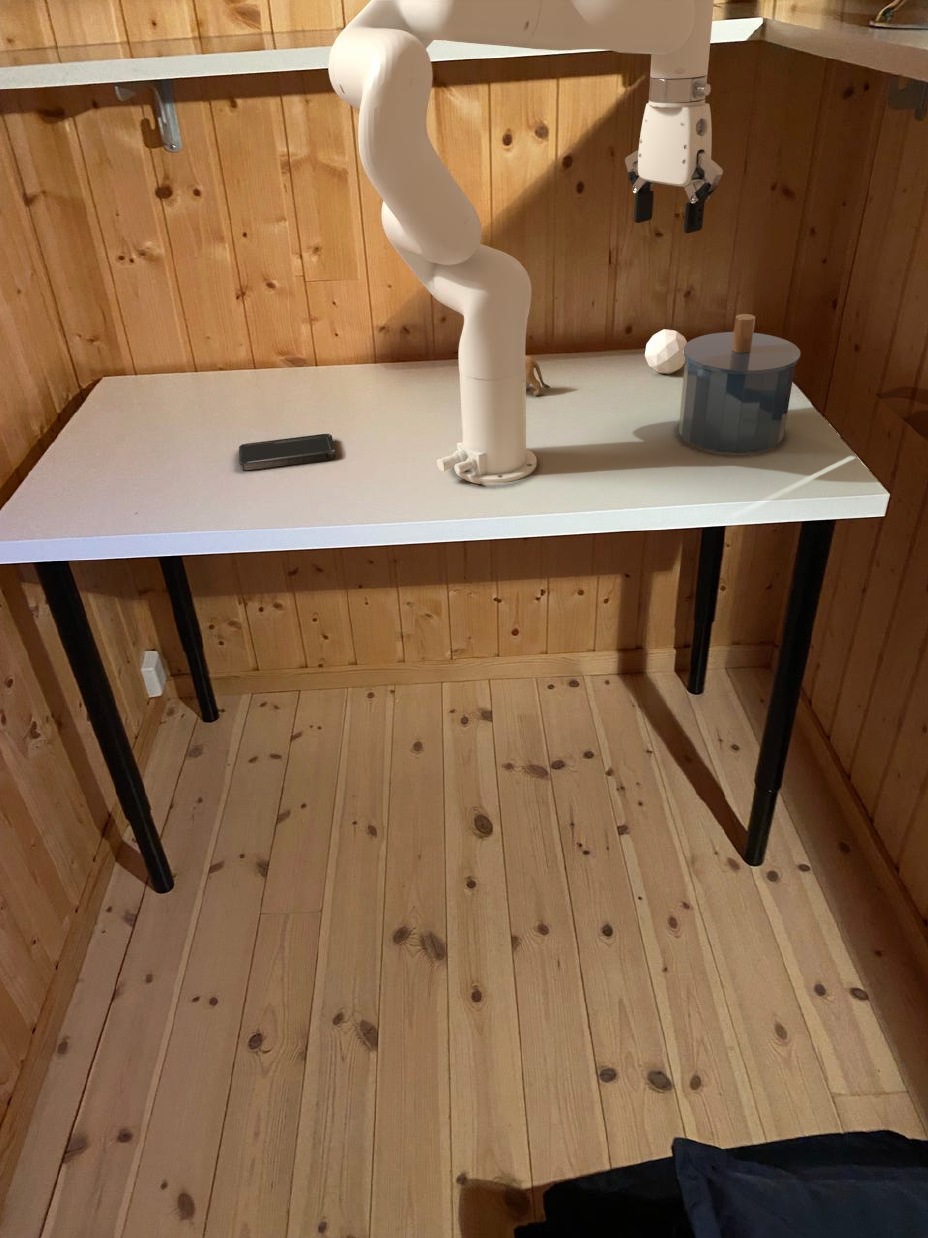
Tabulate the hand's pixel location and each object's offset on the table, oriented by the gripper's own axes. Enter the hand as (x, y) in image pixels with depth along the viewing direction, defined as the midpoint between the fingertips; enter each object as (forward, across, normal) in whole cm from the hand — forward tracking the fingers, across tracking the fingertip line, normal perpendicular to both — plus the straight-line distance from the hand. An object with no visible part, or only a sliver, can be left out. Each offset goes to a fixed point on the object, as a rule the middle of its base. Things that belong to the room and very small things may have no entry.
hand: (667, 225), depth 134 cm
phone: (+30, +30, +52) cm, 67 cm away
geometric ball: (+31, +14, -18) cm, 38 cm away
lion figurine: (+31, +26, +10) cm, 41 cm away
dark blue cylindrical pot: (+30, -12, -5) cm, 33 cm away
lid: (+17, -12, -5) cm, 22 cm away
